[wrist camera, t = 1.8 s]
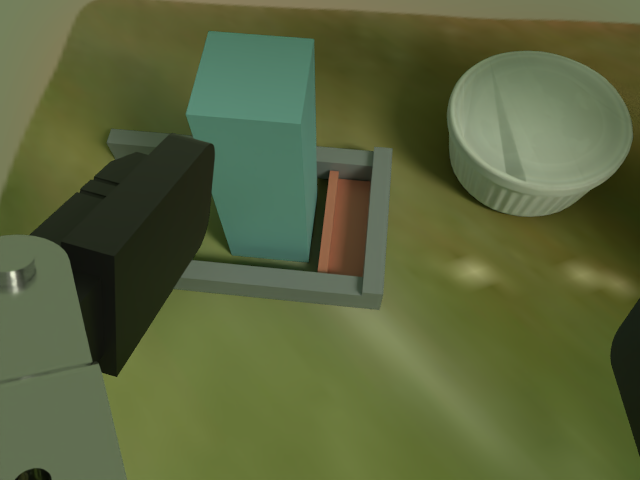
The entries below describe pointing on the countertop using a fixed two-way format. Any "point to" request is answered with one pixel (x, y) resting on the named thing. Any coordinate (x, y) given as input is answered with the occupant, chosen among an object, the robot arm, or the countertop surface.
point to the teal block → (260, 140)
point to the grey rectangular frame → (337, 236)
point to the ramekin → (535, 132)
